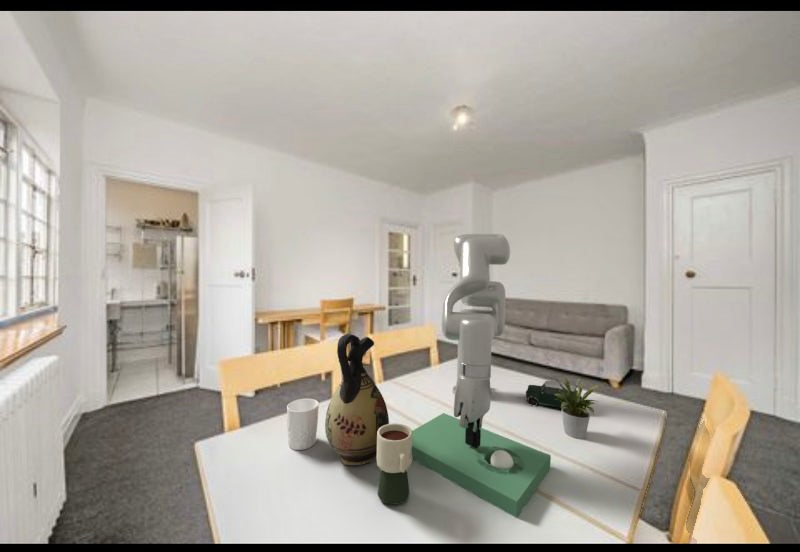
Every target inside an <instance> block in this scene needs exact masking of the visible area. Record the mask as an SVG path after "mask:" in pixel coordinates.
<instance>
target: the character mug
mask: <svg viewBox="0 0 800 552" xmlns="http://www.w3.org/2000/svg"><path fill="white" fill-rule="evenodd" d="M412 431H413V430H412V429H411V428H410V427H409V426H407V425H405V424H401V423H389V424H387V425H383V426H382V427H380V428H379V429H378V431H377V457H376V466H377V467H378V468H379V470H380V475H379V481H378V487H377V488H378V489H377V496H378V499H379V500H380V501H382V502H383V503H384V504H390V505H394V504H402V503H406V501H407V500H408V499H409V497H410V496H409V495H410V483H409V475H408V468H409V467H410V466H411V465H412V462H413V459H412V444H413V443H412Z"/></svg>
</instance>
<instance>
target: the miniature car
mask: <svg viewBox="0 0 800 552" xmlns="http://www.w3.org/2000/svg"><path fill="white" fill-rule="evenodd" d="M559 382H560V384H561V385H562V386H563V387H564V388H565V389H566V390H567V391H568V389H567V387H566V386H565V383H564V382H563V381H559ZM559 382H558V381H557V380H556V381H555V380H545V381H544V382H543V383H542V385H536V384H529V385H527V388H526V391H525V395H524V397H525V400H528V401H527V403H528V404H529V405H530V404H532V405H531V406H533V405H536V406H538V404H539V405H540V404H541V405H545V406H551V407H556V408H560V409H562V408H563V407H566V406H567V405H566V406H563V407H561V403H562V402H565V401H564V400H563V399H560V398H557V397H558V396H555V394H561V395H562V396H563V394H562V392H563V393H564V395H565V397H566V399H567V400H568V402H569V403H570V401H569V399H568V397H567V395H566V393H565V392H564V390H563V388H562V387H561V386H560V384H559ZM555 384H558V385H555ZM569 385H570V388H571V391H572V394H573V392H575V387H576V385H574V384H570V383H569ZM552 386H553V387H552ZM557 387H558V388H559V389H561V391H562V392H561V391H560V390H559V389H558V388H557ZM577 390H578V389H576V392H577ZM568 393H569V392H568ZM582 397H583V396H582V395H581V396H580V400H581V399H582ZM556 399H558V400H556ZM580 400H579V401H580ZM561 401H562V402H561ZM578 403H579V402H578ZM567 407H568V406H567Z"/></svg>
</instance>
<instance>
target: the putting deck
mask: <svg viewBox="0 0 800 552" xmlns="http://www.w3.org/2000/svg"><path fill="white" fill-rule="evenodd" d="M459 424H460V418H458V417H455V416H452V415H449V414H447V413H444V412H443V413H442V414H439V415H437V416H436V417H434V418H432V419H430V420H429V421H427V422H425V423H423V424H422V425H420V426H418V427H417V428H414V429H413V430H412V443H413V444H412V460H413V461H416V462H417V463H419V464H421V465H423V466H424V467H426V468H427V469H429V470H431V471H432V472H435V473H437V474H439V475H440V476H442V477H443V478H446V479H447V480H449V481H450V482H452V483H454V484H456V485H457V486H460V487H461V488H463V489H465V490H467V491H468V492H470V493H472V494H474V495H475V496H477V497H479V498H481V499H483V500H484V501H485V502H488V503H490V505H493V506H495V507H497V508H498V509H501V510H502V511H504V512H506V514H509V515H511V516H512V517H514V518H515V519H516V518H518V516H519V515H520V513H521V512H522V511H523V509H524V508H525V506H526V505H527V503H528V502H529V500H530V499H531V497H532V496H533V495H534V493H535V491H536V490H537V489H538V487H539V485H540V484H541V482H542V481H543V480H544V479H545V477H546V476H547V474H548V472H549V471H550V470H551V459H552V457H551V456H552V455H551V454H548V453H546V452H543V451H541V450H537V449H536V448H534V447H531V446H528V445H525V444H523V443H522V442H518V441H515V440H513V439H510V438H508V437H506V436H503V435H500V434H498V433H495V432H493V431H490V430H488V429H485V428H482V427H481V429H480V430H481V440H480V446H479V447H478V448H474V447H472V446H470V445H467V444H466V443H465V432H466V428H463V427H460V426H459ZM497 450H503V451H506V452H507V453H509V454H510V455H511V457H512V459H513V462H514V465H513V467H512V468H507V469H502V468H496V467H494V466H492V465H491V456H492V454H493V453H494V452H495V451H497Z"/></svg>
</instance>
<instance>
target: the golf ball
mask: <svg viewBox="0 0 800 552" xmlns="http://www.w3.org/2000/svg"><path fill="white" fill-rule="evenodd" d="M490 465H492V466H494V467H496V468H502V469H507V468H512V467H513V465H514V462H513V459H512V457H511V455H510V454H509V453H507V452H506V451H503V450H497V451H495V452H494V453H493V454H492V456H491V464H490Z"/></svg>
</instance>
